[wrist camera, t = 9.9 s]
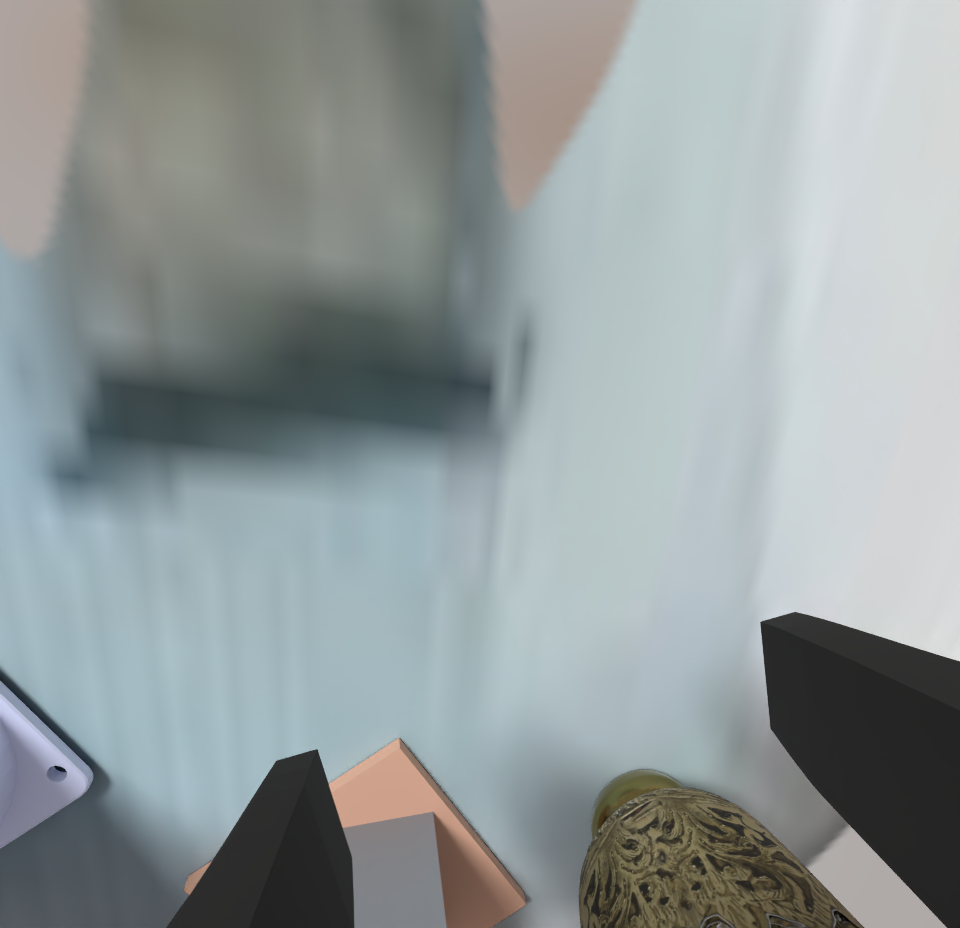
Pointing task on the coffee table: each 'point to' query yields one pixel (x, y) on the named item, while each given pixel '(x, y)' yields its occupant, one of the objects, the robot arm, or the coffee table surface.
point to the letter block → (396, 873)
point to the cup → (692, 864)
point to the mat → (462, 854)
